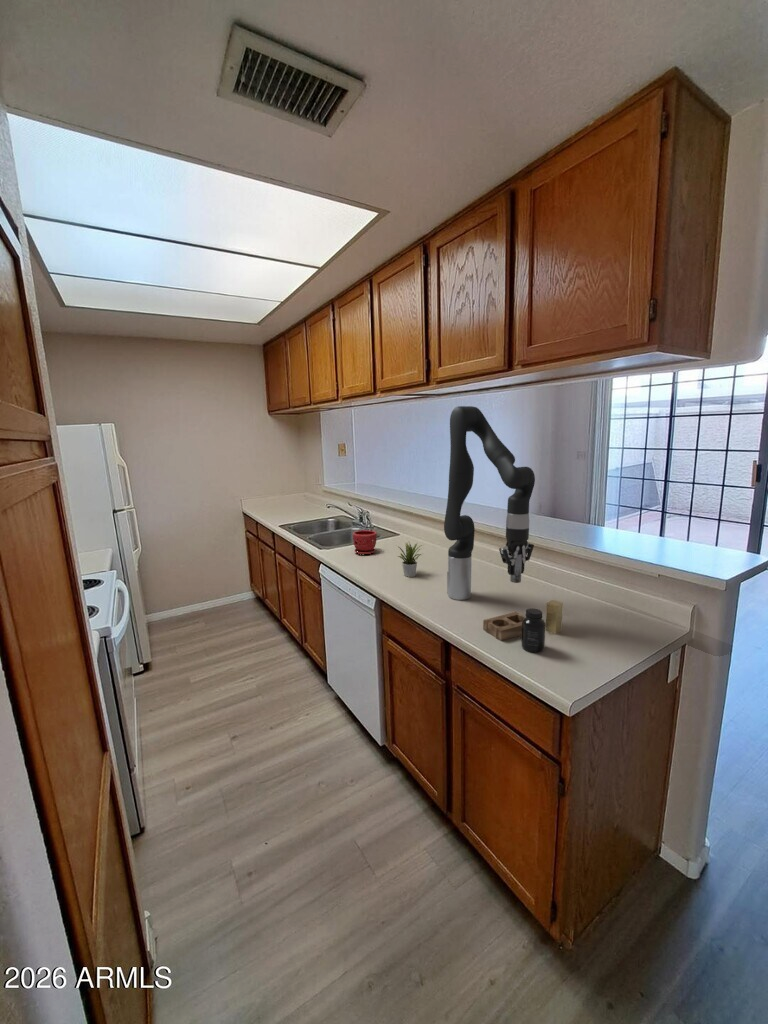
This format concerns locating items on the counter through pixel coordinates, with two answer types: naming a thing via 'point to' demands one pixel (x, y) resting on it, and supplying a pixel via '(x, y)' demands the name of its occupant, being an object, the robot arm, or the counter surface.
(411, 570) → the house plant
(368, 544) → the plant pot
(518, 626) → the bore block
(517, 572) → the cylinder
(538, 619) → the supplement bottle
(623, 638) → the counter surface
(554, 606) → the square bit
